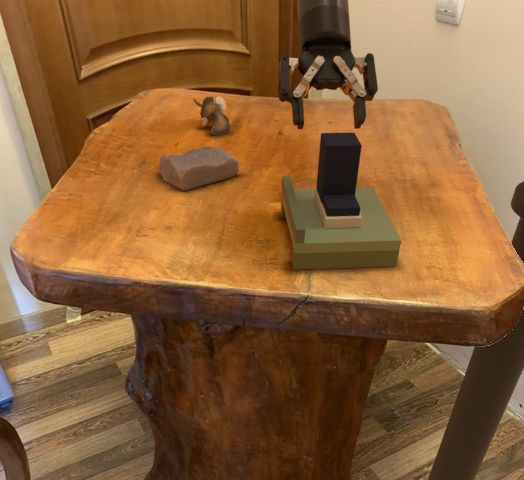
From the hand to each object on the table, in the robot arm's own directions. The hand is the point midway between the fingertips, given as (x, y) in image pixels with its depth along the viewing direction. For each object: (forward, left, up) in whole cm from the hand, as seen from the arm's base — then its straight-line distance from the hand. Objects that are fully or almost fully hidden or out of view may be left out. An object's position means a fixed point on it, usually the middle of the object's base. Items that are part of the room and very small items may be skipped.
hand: (330, 126), depth 81 cm
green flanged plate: (0, +11, -12) cm, 16 cm away
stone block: (+20, -12, -12) cm, 26 cm away
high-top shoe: (0, +11, -8) cm, 14 cm away
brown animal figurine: (+17, -35, -12) cm, 41 cm away
